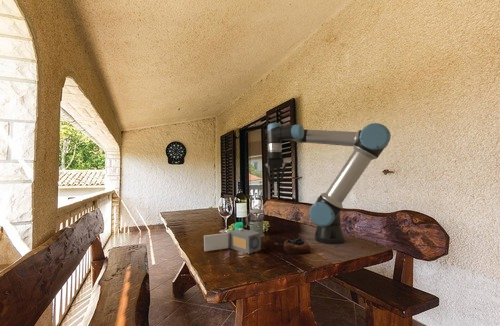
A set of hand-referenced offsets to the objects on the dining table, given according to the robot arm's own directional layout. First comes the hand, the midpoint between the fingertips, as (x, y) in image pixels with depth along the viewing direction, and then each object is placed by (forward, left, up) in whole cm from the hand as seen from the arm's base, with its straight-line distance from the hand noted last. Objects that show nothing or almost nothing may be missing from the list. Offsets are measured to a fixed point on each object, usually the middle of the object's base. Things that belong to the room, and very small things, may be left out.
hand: (275, 195), depth 131 cm
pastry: (-17, +6, -25) cm, 31 cm away
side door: (+11, +31, -24) cm, 41 cm away
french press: (+18, -2, -25) cm, 31 cm away
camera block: (+3, +21, -24) cm, 32 cm away
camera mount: (+14, +12, -25) cm, 31 cm away
